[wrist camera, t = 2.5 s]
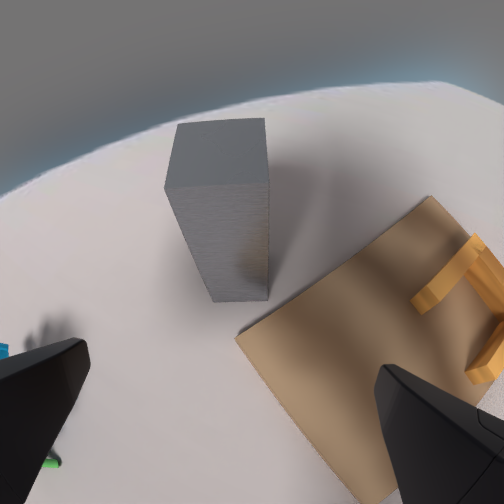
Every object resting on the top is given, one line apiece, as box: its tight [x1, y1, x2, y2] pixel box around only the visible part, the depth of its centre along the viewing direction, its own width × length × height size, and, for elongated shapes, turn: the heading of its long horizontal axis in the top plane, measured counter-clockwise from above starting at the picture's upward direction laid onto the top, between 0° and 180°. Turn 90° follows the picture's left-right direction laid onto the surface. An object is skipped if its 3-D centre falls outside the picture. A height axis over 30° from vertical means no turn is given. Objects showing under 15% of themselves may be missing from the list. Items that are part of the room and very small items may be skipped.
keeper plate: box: [235, 195, 504, 504], centre depth 19 cm, size 22×16×4 cm
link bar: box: [164, 118, 269, 302], centre depth 18 cm, size 4×4×13 cm
